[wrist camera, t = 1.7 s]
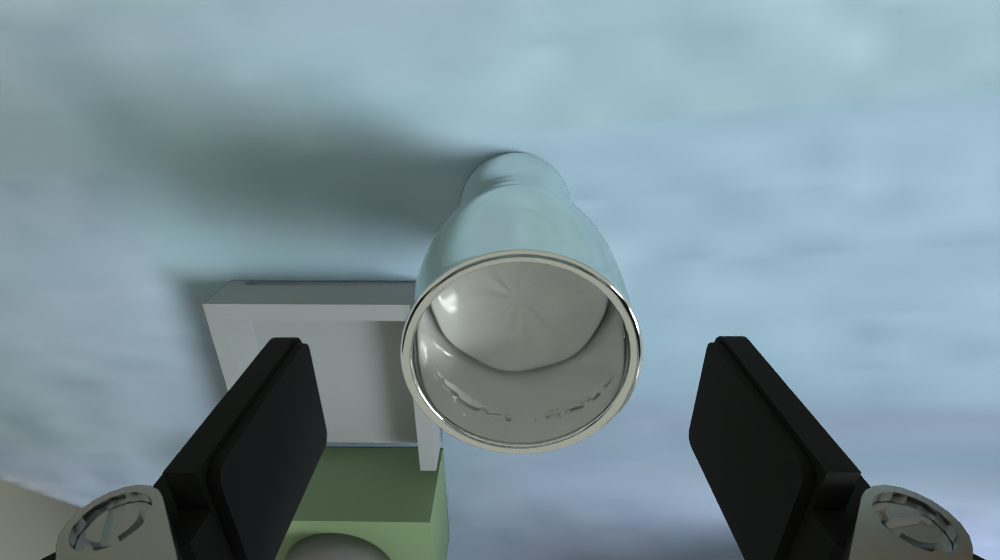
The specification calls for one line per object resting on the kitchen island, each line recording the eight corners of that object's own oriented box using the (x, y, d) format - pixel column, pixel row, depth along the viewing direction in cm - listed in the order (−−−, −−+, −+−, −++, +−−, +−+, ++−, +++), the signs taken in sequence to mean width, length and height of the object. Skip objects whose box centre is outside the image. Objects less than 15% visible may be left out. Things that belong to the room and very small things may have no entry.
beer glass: (463, 272, 28) (419, 470, 15) (442, 152, 25) (363, 259, 12) (582, 258, 28) (651, 450, 14) (574, 135, 25) (652, 226, 11)
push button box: (430, 281, 28) (405, 352, 22) (449, 535, 38) (435, 642, 31) (231, 280, 29) (142, 350, 22) (297, 533, 38) (250, 638, 31)
